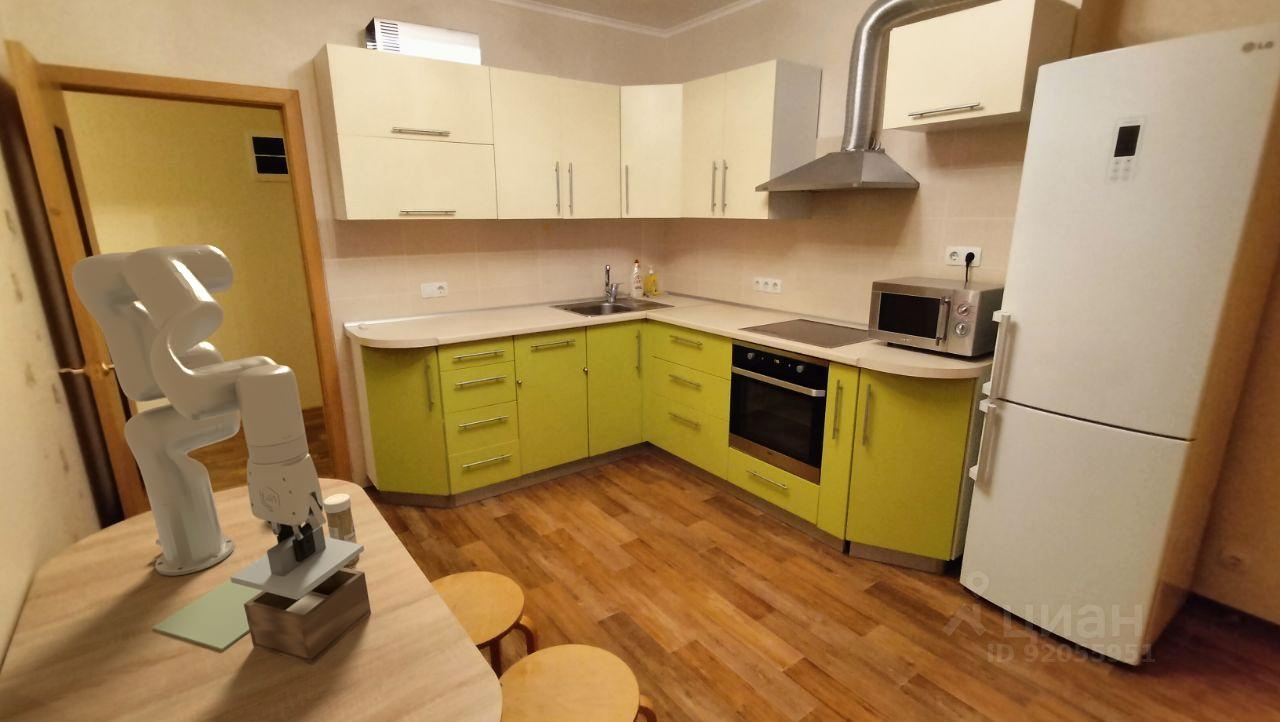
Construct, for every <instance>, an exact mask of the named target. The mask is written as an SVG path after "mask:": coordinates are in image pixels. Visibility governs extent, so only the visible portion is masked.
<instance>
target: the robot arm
mask: <svg viewBox="0 0 1280 722" xmlns="http://www.w3.org/2000/svg"><path fill="white" fill-rule="evenodd" d="M71 278H72V284H73V288H74V290H75V292H76V295H77V297H78V299H79V300H80V302H81V304H82V305H83V306H84V308H85V309H86V310H87V311H88V313H89V314H90V316H92V318H93V319H94V320H95V322H96V323H97V325H98V326H99V328H100V329H101V331H102V333H103V336H104V338H105V342H106V346H107V349H108V351H109V355H110V358H111V361H112V364H113V368H114V370H115V373H116V377H117V379H118V383H119V385H120V387H121V389H122V392H123V393H124V396H126V397H127V398H128V399H129V400H131V401H133V402H138V403H142V402H144V403H146V402H152V401H157V400H161V399H162V400H163V399H167V400H168V401H169V404H165V405H161V406H156V407H153V408H149V409H146V410H143V411H141V412H139V413H136V414H135V415H133V416H131V418H129V419H128V421H127V422H126V423H125V425H124V431H123V433H124V438H125V440H126V443H127V446H128V447H129V449H130V452H131V453H132V454H133V457H134V458H135V461H136V463H137V465H138V468H139V470H140V475H141V476H142V480H143V483H144V486H145V490H146V493H147V496H148V501H149V505H150V508H151V509H150V510H151V511H152V512H151V513H152V517H153V520H154V524H155V527H156V531H157V534H158V538H157V539H156V540H155V544H156V546H161V551H162V553H163V554H161V555H160V556H159V557H158V558H157V560H156V562H155V564H154V565H155V569H156V572H157V573H159V574H160V575H163V576H170V577H172V576H175V577H176V576H183V575H188V574H193V573H195V572H196V573H197V572H199V571H203V570H205V569H208V568H210V567H212V566H214V565H216V564H218V563H220V562H221V561H223V560H225V559H226V558H227V557H228V556H230V555H231V553H232V552H233V551H234V549H235V546H236V544H235V541H234V538H233V537H231V536H229V535H223V532H222V527H221V523H220V518H219V514H218V509H217V505H216V500H215V496H214V492H213V488H212V484H211V480H210V475H209V471H208V469H207V468H206V466H205V465H204V464H203V463H202V462H200V461H199V460H196V459H194V458H192V457H190V456H189V455H188V453H189V452H192V451H194V450H197V449H200V448H203V447H206V446H209V445H213V444H215V443H219V442H221V441H225V440H228V439H231V438H232V437H234V436H235V435H236V434H238V432H239V431H240V428H241V424H242V428H243V433H244V437H245V443H246V447H247V451H248V452H247V453H248V458H247V463H246V481H247V490H248V492H247V493H248V498H249V505H250V508H251V513H252V515H253V517H255V518H257V519H259V520H263V521H267V522H268V523H269V524H270V526H271V529H272V530H271V531H272V533H273V534H274V535H275V536H276V540H277V544H279V543H280V542H282V541H284V540H286V539H287V538H289V537H291V536H292V535H294V536H295V539H293V540H292V542H293V547H294V552H295V557H296V561H297V562H302V561H303V560H305V559H306V558H308V557H309V556H311V555H312V554H314V553H315V551H316V548H315V543H314V537H313V531H315V528H318V527H320V526H322V527H323V526H324V525H325V524H326V523H327V518H325V516H324V514H323V511H324V504H323V502H324V500H323V494H322V489H321V485H320V480H319V477H318V472H317V470H316V466H315V463H314V461H313V459H312V456H311V454H310V453H309V446H308V441H307V434H306V427H305V423H304V416H303V411H302V406H301V401H300V399H301V398H300V393H299V387H298V381H297V378H296V374H295V372H294V370H293V369H292V368H290V366H287V365H281V364H277V362H275V361H274V360H273V359H271V358H270V357H269V356H263V355H256V356H249V357H244V358H238V359H235V360H228V361H225V360H224V357H223V355H222V354H221V352H220V351H219V349H217V347H216V346H215V345H213V343H211V342H209V341H205V340H206V339H208V338H210V337H211V336H213V334H215V333H216V332H217V331H218V329H219V328H220V327H221V326H222V324H223V322H224V319H225V313H224V309H223V308H222V307H221V306H222V305H220V304H219V302H218V301H217V300H216V299H215V297H214V296H213V295H212V294H220V293H225V292H227V291H229V290H230V289H231V288H232V286H233V284H234V282H235V271H234V268H233V265H232V263H231V261H230V259H229V258H228V257H227V255H226V254H225V253H224V252H223V251H221V250H220V249H219V248H217V247H216V246H213V245H210V244H190V245H189V244H187V245H170V246H168V245H167V246H154V247H147V248H142V249H138V250H136V251H125V252H123V251H122V252H111V253H103V254H97V255H96V254H95V255H91V256H88V257H85V258H82V259H80V260H78V261H77V262H76V263H75V264H74V265H73V267H72V270H71ZM303 523H304V524H303ZM302 525H303V526H302Z"/></svg>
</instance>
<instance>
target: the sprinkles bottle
mask: <svg viewBox="0 0 1280 722" xmlns="http://www.w3.org/2000/svg"><path fill="white" fill-rule="evenodd" d="M351 506H352V502H351V496H350V495H349V494H347V493H337V494H333V495H330V496H327V498H325V499H324V500H323V511H324V512H325V516H326V522H327V527H328V533H329V538H333V539H338V540H342V541H347V542H352V543H356V544H358V542H357V536H356V530H355V524H354V523H355V522H354V520H353V519H354V518H353V514H352V510H351V509H352V507H351ZM360 556H361V555H360V554H359V555H357V556H356V557H355V558H353V559H352V560H351V561H349V563H348V564H346V565H345V566H344V567H347V566H350V565H353V564H355V563H356V562H357V561H358V560H359V559H360Z"/></svg>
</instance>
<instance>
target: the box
mask: <svg viewBox="0 0 1280 722" xmlns="http://www.w3.org/2000/svg"><path fill="white" fill-rule="evenodd" d="M365 573H366V572H364V571H362V570H361V571H360V570H356V569H351V568H348V567H342V568H341V569H340V570H338V571H337V572H336V573H334V574H333V575H332V576H330V577H329V578H328V579H326V580H325V581H323V582H322V583H321V584H319V585H318V586H317V587H315V588H314V589H313V590H311V591H310V592H309V593H307V594H306V595H305V596H303V597H302V598H301V599H298V600H296V599H292V598H288V597H284V596H280V595H277V594H273V593H269V592H265V591H262V592H261V593H259V594H258V595H256V596H255V597H253V598H252V599H250V600H249V601H247V602H246V603H244V608H245V612H246V616H247V621H248V625H249V629H250V631H249V633H250V639H251V642H252V647H253V649H254V648H255V649H258V650H262V651H265V652H268V653H271V654H275V655H279V656H281V657H285V658H288V659H292V660H295V661H298V662H302V663H305V664H309V665H314V664H315V663H316V662H317V661H318V660H319V659H321V658H322V657H323V656H324V655H325V654H326V653H327V652H329V651H330V650H331V649H332V648H333V647H335V645H336V644H338V643H339V642H340V641H341V640H342V639H343V638H345V637H346V636H347V635H348V634H349V633H350V632H351V631H353V629H355V628H356V627H357V626H358V625H359V624H360V623H362V622H363V621H364V620H365V619H366V618H368V616H369V615H371V614H372V611H371V606H370V605H371V604H370V603H371V602H370V598H369V592H368V586H367V580H366V574H365Z"/></svg>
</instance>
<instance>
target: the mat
mask: <svg viewBox="0 0 1280 722" xmlns="http://www.w3.org/2000/svg"><path fill="white" fill-rule="evenodd" d="M261 592H262V590H258V589H254V588H250V587H247V586H243V585H239V584H235V583H232V582H231V578H230V579H228V580H226V581H225V582H224V583H222V584H220V585H219V586H217V587H216V588H214V589H212V590H210V591H208V592H207V593H206V594H204V595H202V596H200V597H199V598H197V599H195V600H194V601H193V602H191V603H189V604H188V605H186V606H185V607H183V608H181V609H180V610H178V611H177V612H175V613H173V614H172V615H170V616H169V617H167V618H165V619H163V620H162V621H160V622H159V623H157V624H156V625H154V626H152V627H151V628H152V630H153V631H157V632H160V633H163V634H166V635H170V636H173V637H176V638H180V639H182V640H186V641H188V642H189V641H190V642H194V643H196V644H200V645H203V646H205V647H208V648H212V649H216V650H219V651H225V650H226V649H228V648H229V647H230V646H232V645H233V644H234V643H236V642H237V641H238V640H240V639H241V638H242V637H244V636H245V635H247V634H248V633H250V629H249V625H248V621H247V616H246V612H245V608H244V603H246V602H247V601H249V600H250V599H252V598H253V597H255V596H256V595H258V594H259V593H261Z"/></svg>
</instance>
